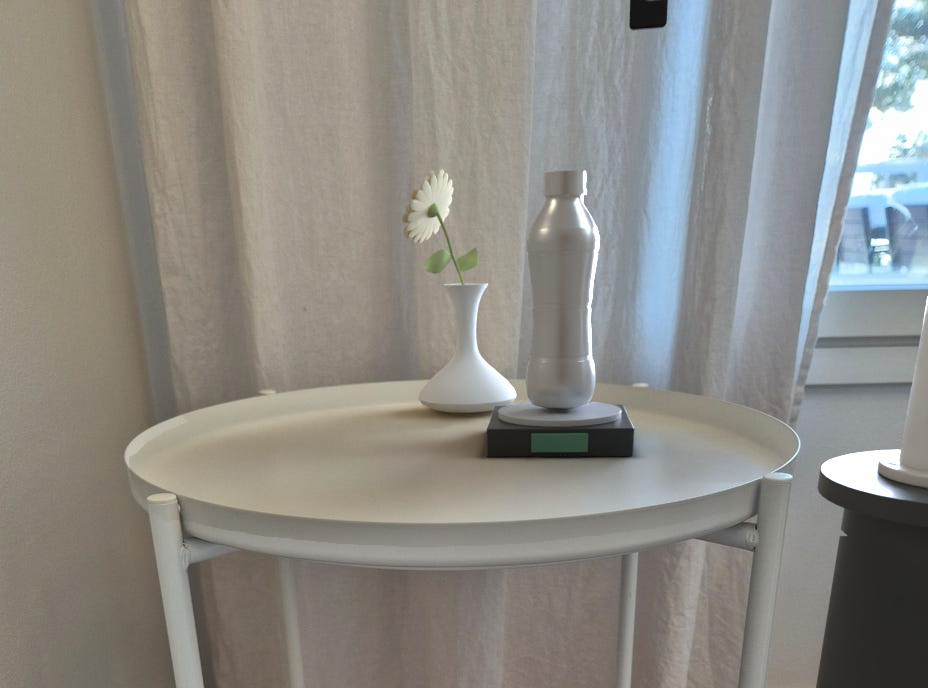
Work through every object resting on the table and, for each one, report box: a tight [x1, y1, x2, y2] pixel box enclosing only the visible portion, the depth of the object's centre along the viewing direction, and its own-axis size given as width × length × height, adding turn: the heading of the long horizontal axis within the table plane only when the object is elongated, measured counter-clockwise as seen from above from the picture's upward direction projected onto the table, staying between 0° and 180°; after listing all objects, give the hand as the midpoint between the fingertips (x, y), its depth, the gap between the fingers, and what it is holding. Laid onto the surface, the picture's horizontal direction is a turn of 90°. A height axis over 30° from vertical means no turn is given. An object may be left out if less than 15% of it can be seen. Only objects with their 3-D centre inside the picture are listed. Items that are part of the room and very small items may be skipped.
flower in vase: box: [401, 168, 518, 414], centre depth 98 cm, size 13×11×25 cm
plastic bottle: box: [525, 170, 601, 411], centre depth 80 cm, size 6×7×20 cm
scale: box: [486, 400, 635, 458], centre depth 85 cm, size 13×14×3 cm
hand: (655, 14), depth 74 cm, fingers open, 9 cm apart
